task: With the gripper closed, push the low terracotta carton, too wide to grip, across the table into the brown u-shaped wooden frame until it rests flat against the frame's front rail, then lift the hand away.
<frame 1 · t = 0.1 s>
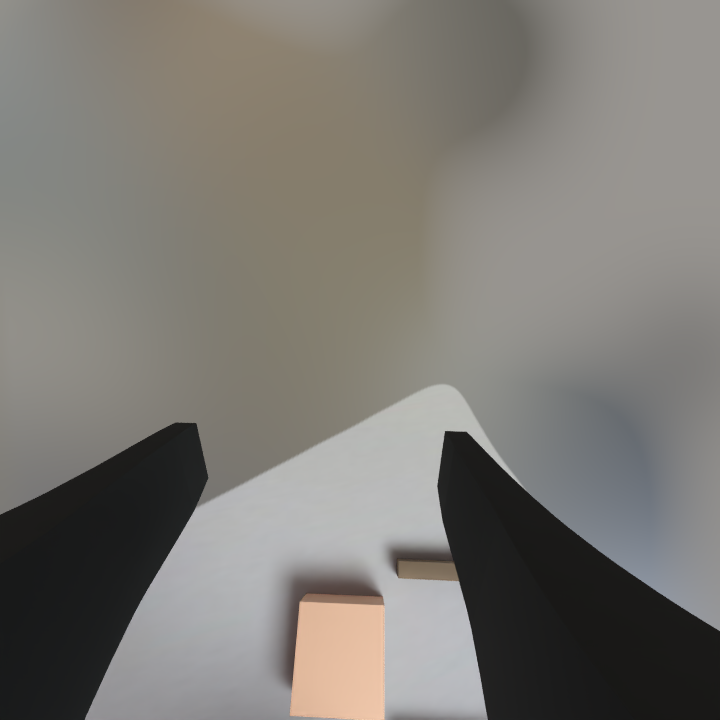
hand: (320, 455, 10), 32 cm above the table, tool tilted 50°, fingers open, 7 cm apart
carton: (342, 642, 34), on the table
brown u-shaped wooden frame: (453, 649, 33), on the table
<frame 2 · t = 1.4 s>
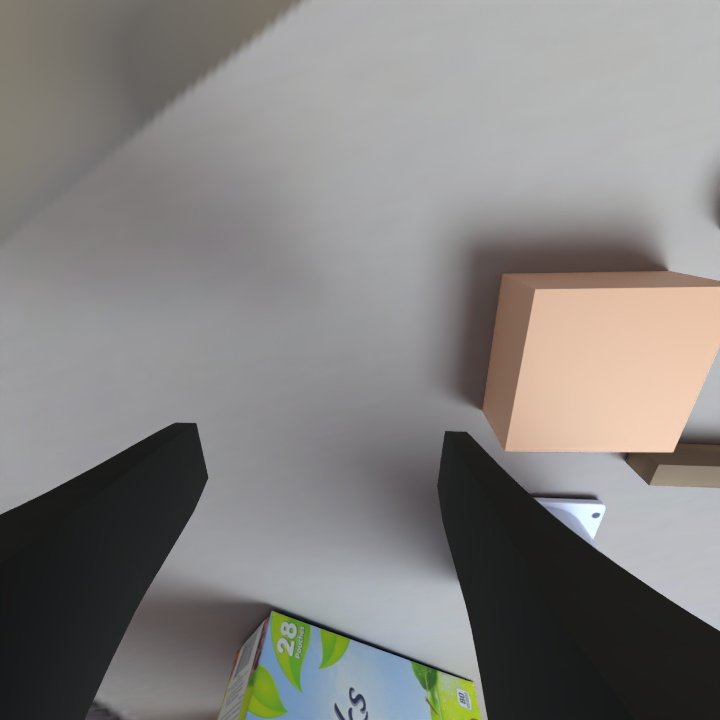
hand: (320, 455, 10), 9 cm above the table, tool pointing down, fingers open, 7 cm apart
carton: (563, 345, 18), on the table
snack box: (358, 663, 32), on the table
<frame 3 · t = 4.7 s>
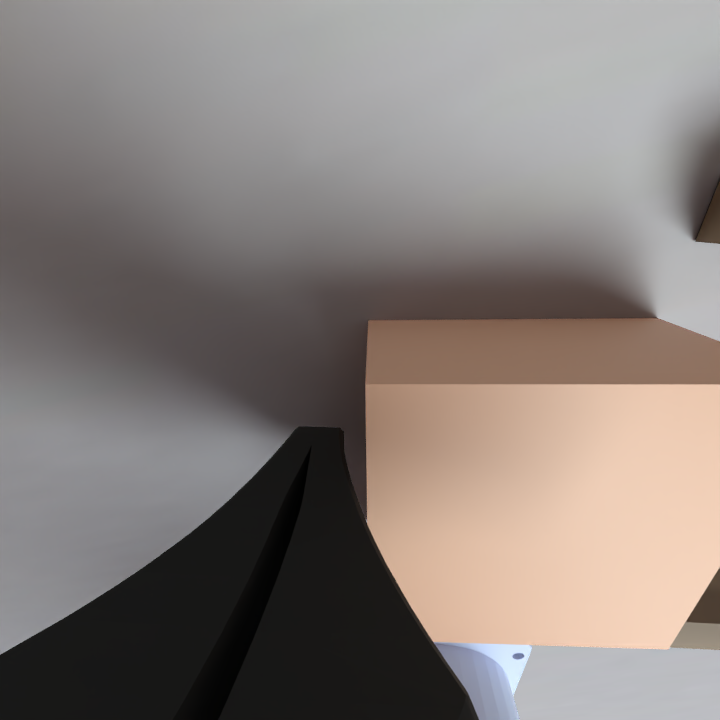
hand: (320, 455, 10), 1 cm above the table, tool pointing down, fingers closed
carton: (489, 434, 11), on the table, touching gripper
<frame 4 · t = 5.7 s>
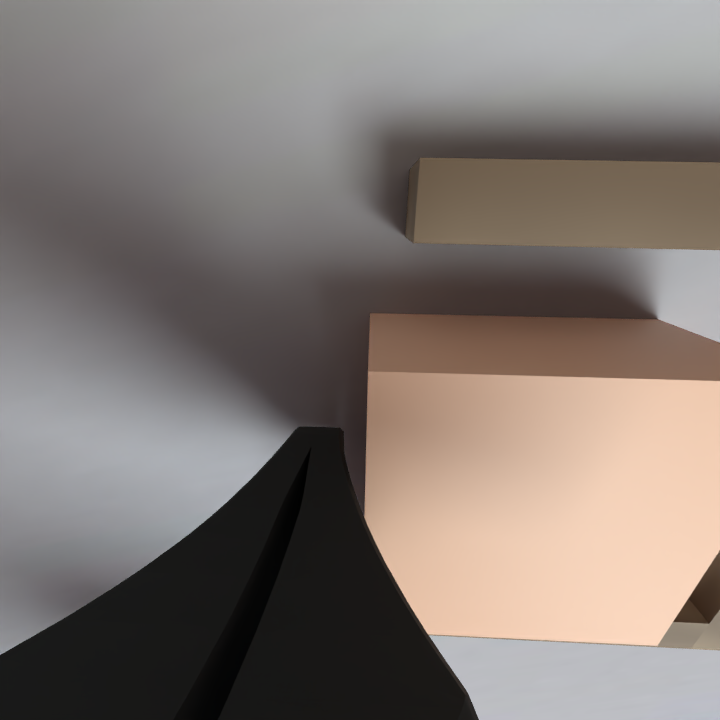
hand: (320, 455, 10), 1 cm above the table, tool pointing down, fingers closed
carton: (486, 430, 11), on the table, touching gripper
brown u-shaped wooden frame: (560, 436, 11), on the table
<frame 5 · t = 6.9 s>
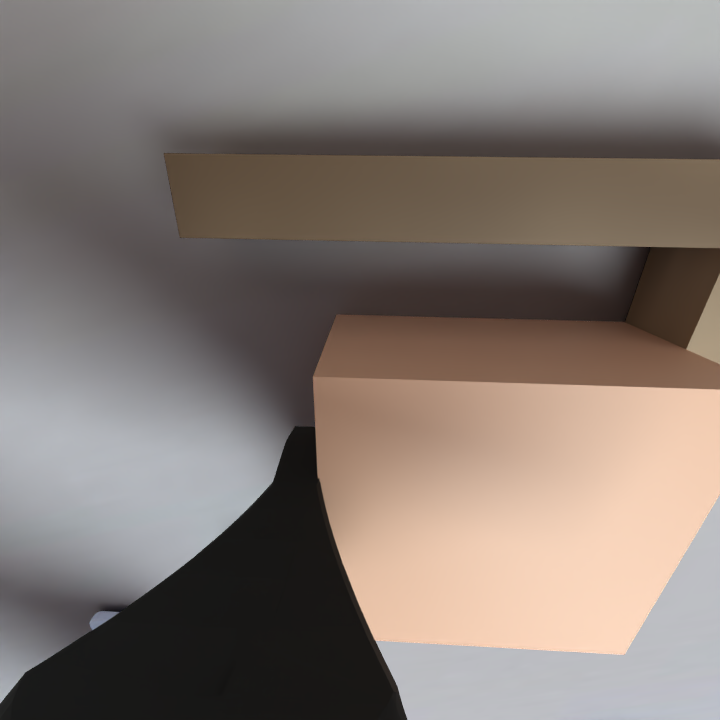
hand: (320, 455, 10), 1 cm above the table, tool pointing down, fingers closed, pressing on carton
carton: (458, 434, 11), on the table, touching brown u-shaped wooden frame, gripper
brown u-shaped wooden frame: (413, 430, 11), on the table
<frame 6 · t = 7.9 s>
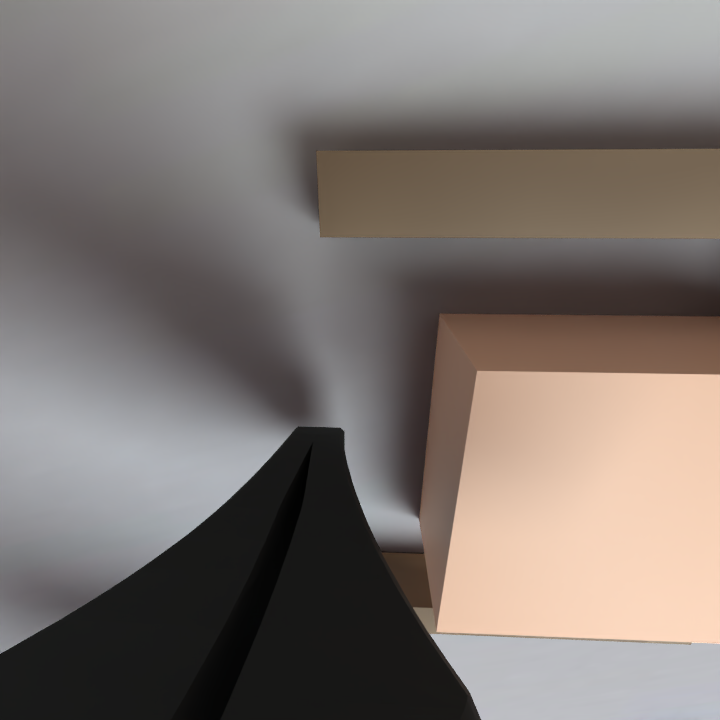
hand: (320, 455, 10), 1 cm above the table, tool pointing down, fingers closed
carton: (547, 429, 11), on the table
brown u-shaped wooden frame: (506, 430, 11), on the table
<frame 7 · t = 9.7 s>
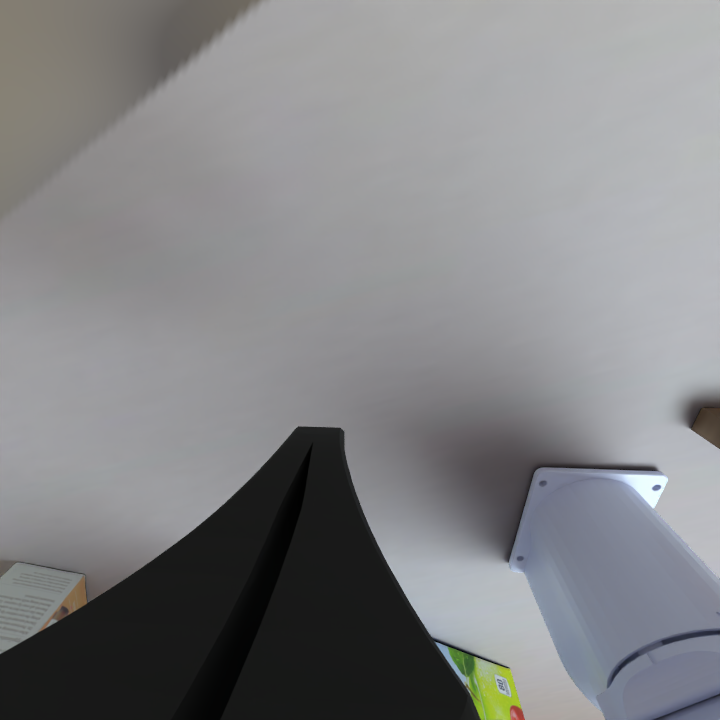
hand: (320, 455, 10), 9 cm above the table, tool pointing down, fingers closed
snack box: (390, 649, 31), on the table
small box: (59, 593, 29), on the table
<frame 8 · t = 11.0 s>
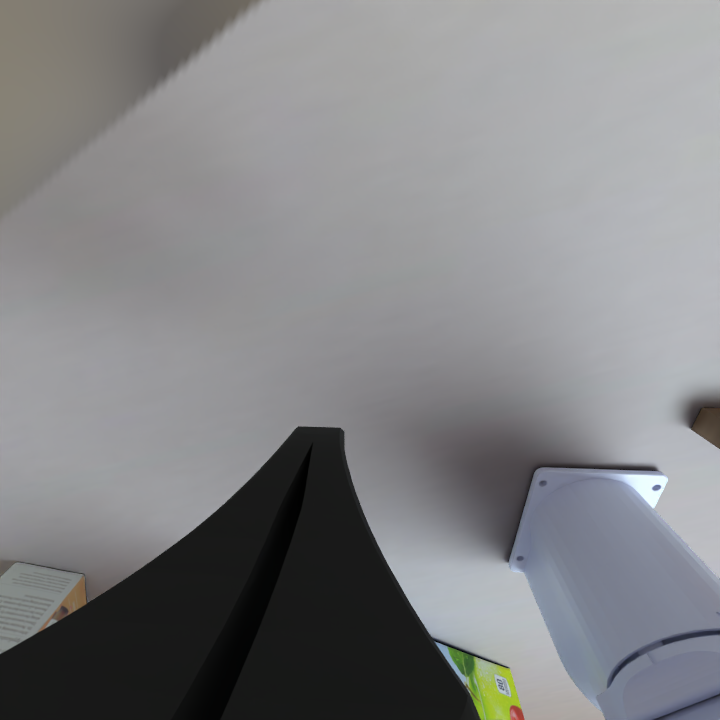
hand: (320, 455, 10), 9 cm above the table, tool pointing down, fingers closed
snack box: (390, 649, 31), on the table
small box: (58, 593, 29), on the table
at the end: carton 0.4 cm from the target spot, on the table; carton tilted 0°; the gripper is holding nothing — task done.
